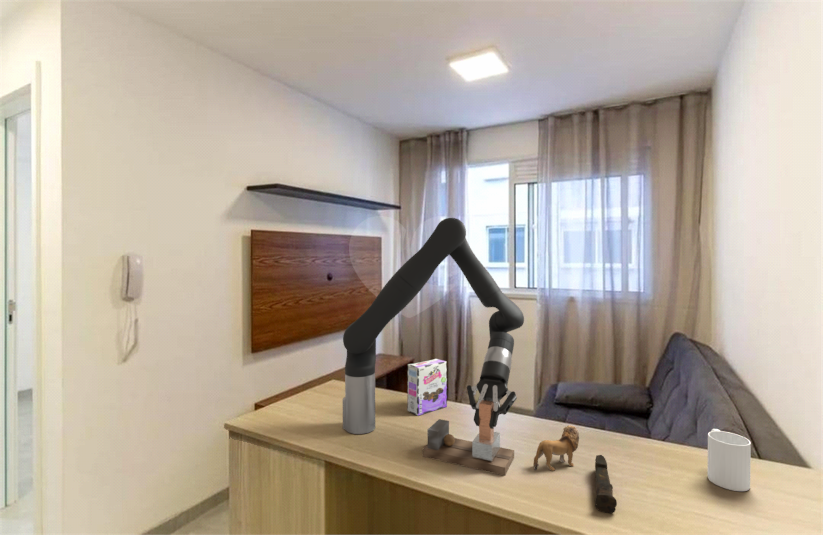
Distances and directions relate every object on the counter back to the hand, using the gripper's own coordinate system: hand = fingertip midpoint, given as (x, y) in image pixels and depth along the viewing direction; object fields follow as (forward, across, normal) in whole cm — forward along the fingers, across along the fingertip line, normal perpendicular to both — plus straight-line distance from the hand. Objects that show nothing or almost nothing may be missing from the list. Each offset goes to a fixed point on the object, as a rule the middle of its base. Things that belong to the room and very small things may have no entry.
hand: (484, 425), depth 104 cm
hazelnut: (+4, -10, +7) cm, 13 cm away
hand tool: (+7, +27, +8) cm, 29 cm away
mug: (-6, +53, +21) cm, 57 cm away
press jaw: (+4, 0, +7) cm, 8 cm away
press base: (+6, -5, +8) cm, 11 cm away
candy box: (-13, -29, +28) cm, 42 cm away
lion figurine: (+1, +16, +13) cm, 21 cm away
